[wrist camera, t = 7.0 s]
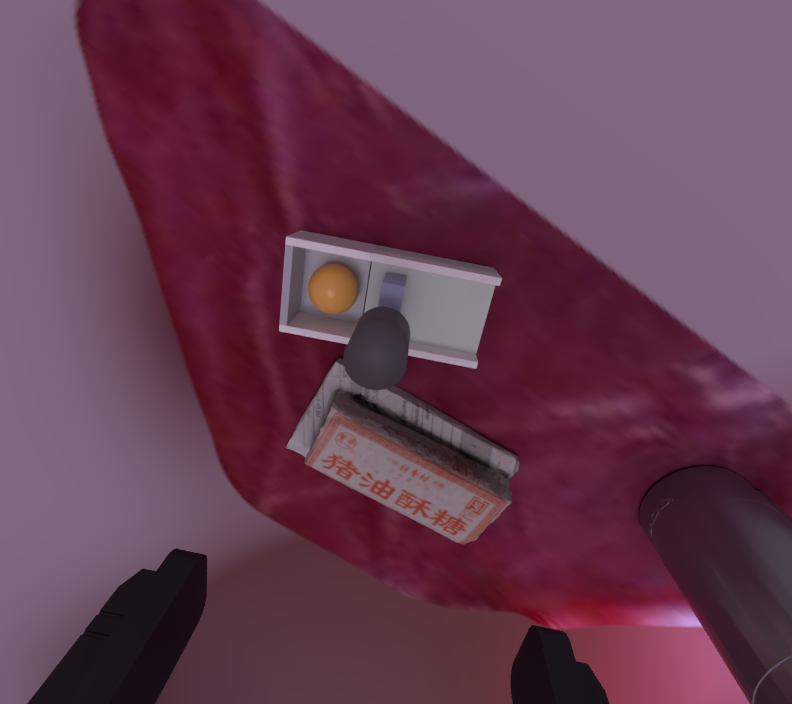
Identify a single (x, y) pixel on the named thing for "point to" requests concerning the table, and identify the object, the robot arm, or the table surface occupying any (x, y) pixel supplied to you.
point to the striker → (380, 340)
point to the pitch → (437, 302)
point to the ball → (333, 289)
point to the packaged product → (405, 456)
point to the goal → (299, 265)
